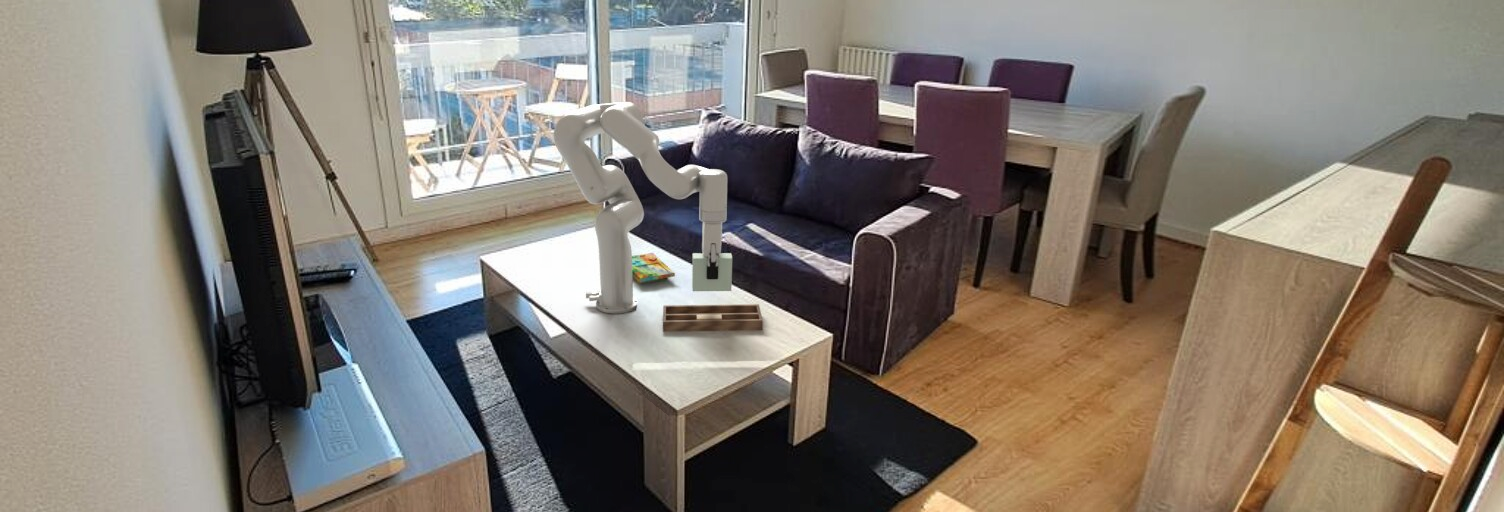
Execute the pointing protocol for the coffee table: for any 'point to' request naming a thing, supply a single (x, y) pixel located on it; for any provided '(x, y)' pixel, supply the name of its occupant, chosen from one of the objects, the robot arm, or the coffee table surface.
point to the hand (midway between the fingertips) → (711, 275)
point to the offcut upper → (709, 317)
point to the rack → (731, 320)
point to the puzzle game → (649, 268)
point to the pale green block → (700, 273)
